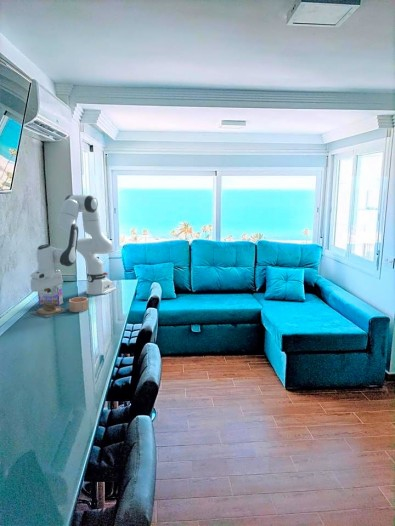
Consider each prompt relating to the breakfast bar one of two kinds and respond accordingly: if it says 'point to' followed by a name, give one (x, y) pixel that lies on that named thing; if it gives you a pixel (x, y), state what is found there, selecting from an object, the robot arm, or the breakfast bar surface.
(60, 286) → the candy box
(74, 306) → the terracotta bowl
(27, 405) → the breakfast bar surface
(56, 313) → the charcoal mat
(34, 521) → the breakfast bar surface
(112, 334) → the breakfast bar surface
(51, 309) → the walnut lid
